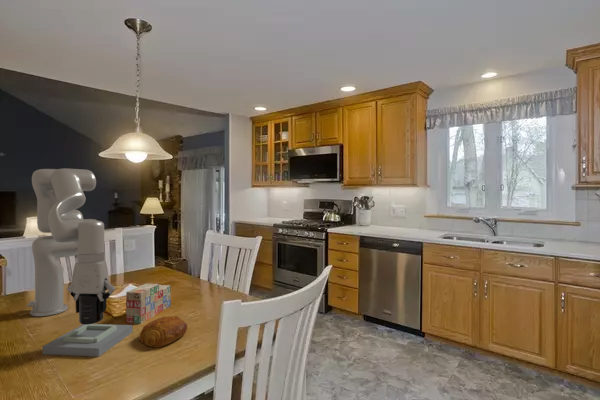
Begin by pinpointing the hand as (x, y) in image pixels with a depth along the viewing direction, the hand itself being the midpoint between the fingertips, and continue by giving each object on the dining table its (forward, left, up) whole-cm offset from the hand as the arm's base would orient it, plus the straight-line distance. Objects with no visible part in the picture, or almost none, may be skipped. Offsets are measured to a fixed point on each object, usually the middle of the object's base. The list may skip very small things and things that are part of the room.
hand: (91, 311), depth 110 cm
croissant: (+22, +6, -11) cm, 25 cm away
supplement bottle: (0, 0, -3) cm, 3 cm away
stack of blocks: (+6, +27, -11) cm, 30 cm away
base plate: (0, 0, -10) cm, 10 cm away
